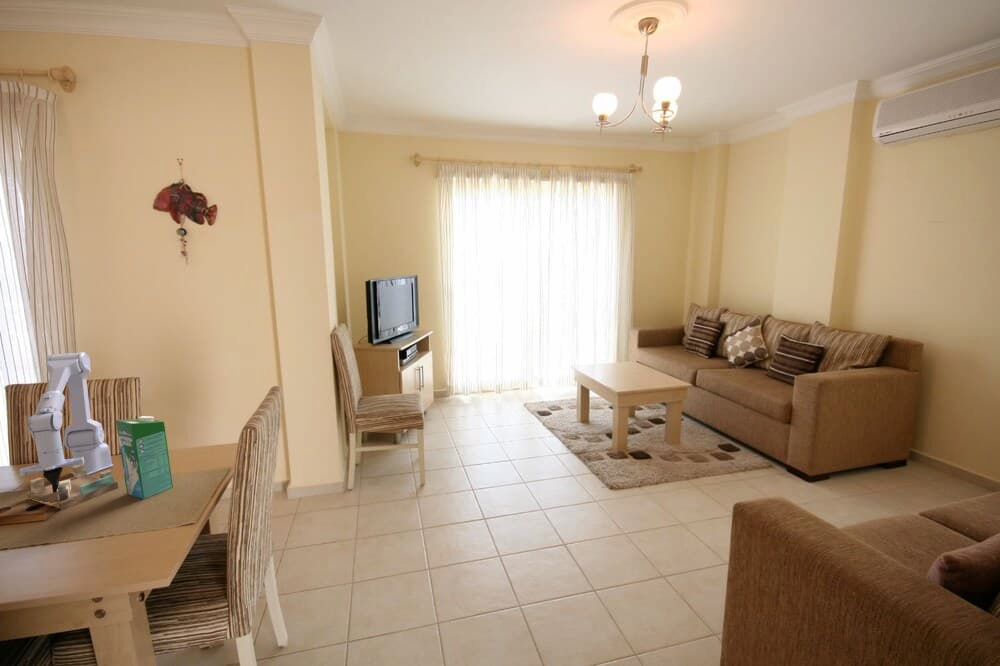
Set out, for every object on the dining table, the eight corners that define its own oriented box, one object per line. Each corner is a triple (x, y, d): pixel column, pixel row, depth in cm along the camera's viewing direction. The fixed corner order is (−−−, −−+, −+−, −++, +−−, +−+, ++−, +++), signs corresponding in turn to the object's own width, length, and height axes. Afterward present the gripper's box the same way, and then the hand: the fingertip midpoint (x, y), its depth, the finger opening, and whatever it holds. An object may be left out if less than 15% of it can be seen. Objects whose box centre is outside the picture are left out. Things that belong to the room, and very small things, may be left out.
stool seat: (84, 478, 160) (81, 462, 159) (118, 487, 153) (115, 470, 152) (28, 499, 147) (24, 481, 146) (61, 509, 139) (58, 491, 138)
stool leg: (69, 498, 142) (67, 486, 141) (58, 501, 140) (55, 489, 140) (71, 487, 149) (69, 476, 149) (60, 489, 148) (58, 478, 147)
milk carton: (173, 486, 153) (163, 414, 149) (142, 499, 145) (131, 423, 141) (157, 482, 156) (147, 411, 153) (126, 494, 148) (115, 420, 145)
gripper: (13, 460, 136) (21, 503, 138) (78, 448, 144) (84, 489, 146) (20, 452, 142) (28, 493, 144) (82, 442, 150) (89, 481, 152)
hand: (57, 491), depth 145 cm, fingers closed, pressing on stool leg
